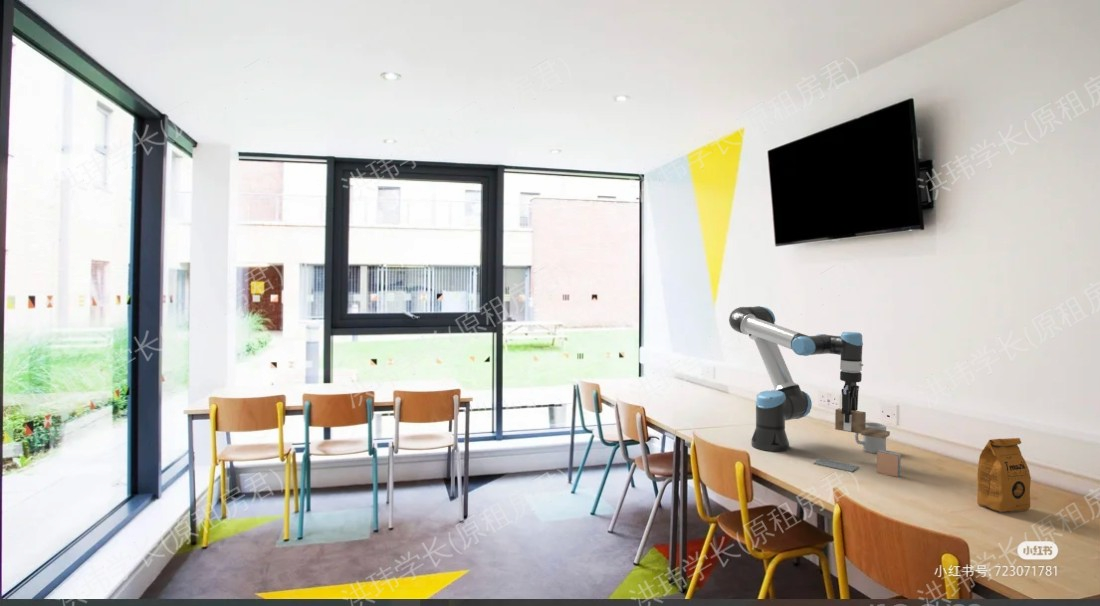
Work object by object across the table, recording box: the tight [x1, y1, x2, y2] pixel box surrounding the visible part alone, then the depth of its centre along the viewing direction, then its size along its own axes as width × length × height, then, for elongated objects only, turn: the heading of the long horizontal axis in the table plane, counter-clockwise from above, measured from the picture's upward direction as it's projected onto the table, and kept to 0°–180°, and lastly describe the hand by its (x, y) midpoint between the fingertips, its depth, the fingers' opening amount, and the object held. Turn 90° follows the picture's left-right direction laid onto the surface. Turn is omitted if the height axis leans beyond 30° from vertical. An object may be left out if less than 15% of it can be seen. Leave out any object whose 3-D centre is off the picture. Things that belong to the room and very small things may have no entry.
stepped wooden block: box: [834, 407, 891, 439], centre depth 221 cm, size 18×7×8 cm, turn 45°
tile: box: [876, 450, 902, 478], centre depth 207 cm, size 7×3×8 cm, turn 45°
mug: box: [854, 422, 887, 455], centre depth 236 cm, size 12×8×11 cm
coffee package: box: [976, 437, 1032, 513], centre depth 175 cm, size 10×12×22 cm
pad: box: [813, 458, 860, 473], centre depth 217 cm, size 14×8×1 cm, turn 45°
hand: (849, 429), depth 224 cm, fingers closed on stepped wooden block, 3 cm apart
